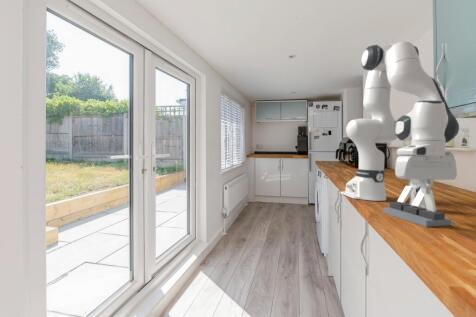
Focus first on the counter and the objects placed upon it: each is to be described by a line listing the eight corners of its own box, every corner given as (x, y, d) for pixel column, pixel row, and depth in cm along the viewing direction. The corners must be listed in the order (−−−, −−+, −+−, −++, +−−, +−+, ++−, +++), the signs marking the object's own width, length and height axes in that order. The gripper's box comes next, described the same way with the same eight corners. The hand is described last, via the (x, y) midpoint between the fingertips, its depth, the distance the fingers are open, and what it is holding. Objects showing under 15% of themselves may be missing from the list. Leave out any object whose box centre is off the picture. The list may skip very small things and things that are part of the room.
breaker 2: (411, 204, 88) (420, 188, 89) (413, 206, 89) (422, 189, 89) (417, 206, 86) (427, 189, 87) (419, 207, 86) (429, 190, 87)
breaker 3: (426, 210, 82) (422, 190, 82) (429, 209, 83) (425, 189, 82) (434, 211, 80) (429, 191, 79) (436, 210, 80) (432, 190, 80)
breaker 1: (397, 201, 94) (406, 185, 95) (398, 202, 94) (407, 186, 95) (402, 202, 92) (411, 186, 92) (404, 203, 92) (413, 187, 93)
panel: (383, 212, 95) (383, 202, 94) (404, 211, 97) (405, 201, 97) (426, 226, 78) (426, 214, 78) (451, 225, 80) (451, 213, 80)
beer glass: (403, 207, 104) (405, 171, 104) (413, 206, 107) (415, 171, 106) (421, 211, 98) (423, 173, 97) (431, 210, 101) (434, 173, 100)
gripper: (444, 151, 85) (442, 191, 85) (392, 149, 81) (390, 191, 81) (464, 151, 79) (461, 194, 79) (409, 149, 75) (407, 195, 75)
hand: (425, 193), depth 80 cm, fingers closed, pressing on breaker 3
